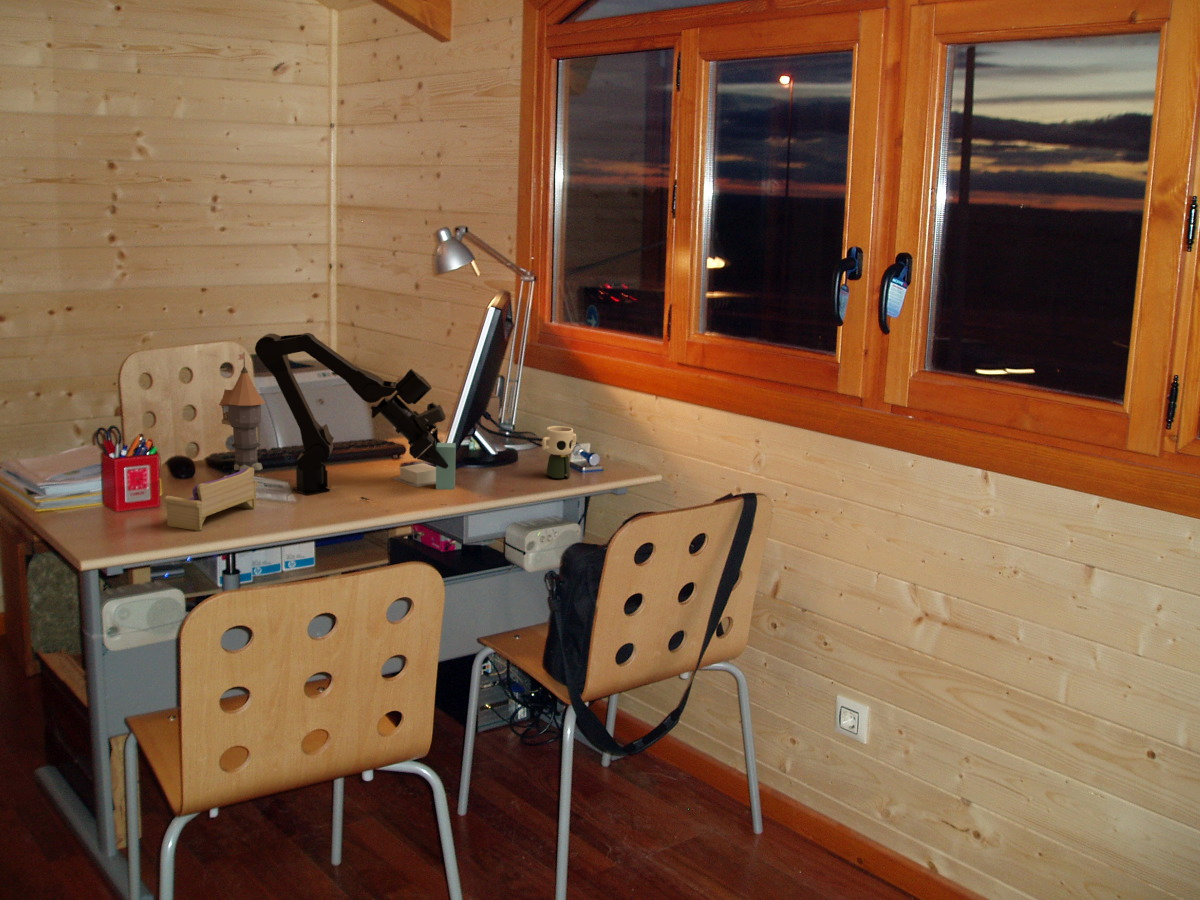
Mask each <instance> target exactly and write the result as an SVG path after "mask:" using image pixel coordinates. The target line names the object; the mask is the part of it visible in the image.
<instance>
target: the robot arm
mask: <svg viewBox="0 0 1200 900" xmlns="http://www.w3.org/2000/svg"><path fill="white" fill-rule="evenodd" d="M254 352H255V355H256V356H257V357H258V360H260V362H262V365H263V366H264V367H265V368H266V369H267V370H268V372H270V374H272V376H273V377H274V379H275V381H276V383H277V385H278V387H279V389H280V391H281V393H282V395H283V397H284V399H285V402H286V404H287V406H288V407H289V410H290V411H291V413H292V415H293V418H294V419H295V422H296V423H297V426H298V428H299V431H300V436H301V443H302V445H303V449H304V450H303V451H302V452H301V453H300V454H299V456H298V458H297V460H296V461H295V464H296V466H295V469H296V470H295V471H296V472H295V475H296V476H295V477H296V480H295V481H296V483H295V484H296V485H295V486H293V487H292V490H293V491H296V492H298V493H301V494H304V495H305V496H306V495H307V496H309V495H314V494H319V493H326V492H330V488H328V483H329V482H328V479H329V478H328V470H327V465H326V464H323V462H325V461H326V460H327V459H329V457H330V455H331V453H332V451H333V449H334V443H333V441H334V439H335V437H333V436H332V434H331V433H330V429H329V426H328V424H327V423H326V424H324V425H321V424H320V423H319V422H318V421H317V420H316V418H315V416H314V414H313V412H312V410H311V408H310V405H309V404H308V401H307V400H306V397H305V395H304V394H303V390H302V389H301V387H300V385H299V383H298V380H297V379H296V377H295V375H294V373H293V371H292V369H291V365H290V360H289V355H291V354H296V353H301V352H303V353H306V354H308V355H309V356H310V357H312V358H313V359H315V360H316V362H318V363H320V364H321V365H323V366H324V367H326V368H327V369H328V370H329V371H332V372H333V373H334V374H336V375H337V376H338V377H340V378H341V379H342V380H344V381H345V382H346V383H347V385H348V386H349V387H350V388H351V389H352V390H353V391H354V392H355V393H356V394H357V395H358V396H359V397H360V398H361V399H362V400H363V401H364V402H366V403H370V404H372V405H371V406H370V409H371V418H372V419H374V418H376V417H377V416H378V415H379V414H381V416H382V417H383V418H385V420H387V422H388V423H389V424H391V426H393V427H394V428H395V432H396V433H397V434H400V435H401V436H403V437H404V438H405V440H407V444H408V445H409V450H408V451H409V455H410V456H411V457H412V458H414V459H417V460H418V461H419V460H421V461H423V462H426V463H429V464H431V465H434V466H435V467H436V466H439V467H442V468H444V469H446V468H447V467H448V464H447V462H446V461H445V460H444V458H443V457H442V456H441V454H440V453H439V452H438V450H437V449H436V446H437V443H442V442H441V440H440V438H439V427H437V426H438V425H437V423H441V422H444V421H445V420H446V417H447V416H446V413H445V412H444V410H443V407H442V405H441V404H436V403H435V402H429V403H427V404H426V405H427V406H426V407H427V408H426V409H427V410H424V411H423V412H421V413H419V412H418V411H417V410H413V411H412V409H410V408H409V406H408V405H412V404H413V405H417V403H418V402H419V401H421V400H422V398H423V397H425V396H426V395H427V394H428V393H429V392H430V391H431V390H432V389H433V387H432V385H431V384H430V383H429V381H427V379H426V378H425V377H424V376H423V375H420V374H419V373H418V372H417V371H415V370H414V369H412V368H410V369H409V370H408V371H406V373H405V374H404V376H403V377H402V378H401V379H400V380H398V381H397V382H396V381H390V380H384V379H383V378H382V377H380V376H379V375H377V374H375V373H373V372H370V371H368V370H366V369H363V368H361V367H359V366H356V365H354V364H353V363H352V362H350V361H349V360H348V359H346V358H345V357H344V356H342V355H340V354H339V353H338V352H337V351H335V350H334V349H332V348H330V347H329V346H328V345H326V344H325V343H324V342H323V341H321V340H319V338H317V337H316V336H315V335H314V334H313V333H311V332H304V333H300V334H286V335H279V334H276V333H271V332H270V333H266V334H265V335H263V336H262V337H260V339H258V341H256V344H255V347H254ZM398 396H399V397H398ZM388 397H389V398H388ZM382 398H383V399H382ZM377 402H378V403H377ZM373 403H377V404H373Z"/></svg>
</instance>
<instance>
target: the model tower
mask: <svg viewBox="0 0 1200 900" xmlns="http://www.w3.org/2000/svg"><path fill="white" fill-rule="evenodd" d="M238 356H239V357H238V360H239V361H240V360H243V367H242V369H241V370H240V374H239V376H238V378H237V381H236V382H235V384H234V385H233V388H232V389H225V388H224V391H223V395H222V398H221V400H220V402H219V404H218V406H220V407H221V410H222V419H221V424H222V425H227V426H230V427H231V428H232V431H233V432H232V433H233V434H232V435H233V443H231V447H232V448H233V449H234V464H233V466H234V470H233V471H238V472H239V471H241V470H243V469H246V468H249V467H252V468H254V471H261V470H263V465H262V463H261V462H259V460H258V448H259V447H260V446H261V443H260V442H258V436H257V428H259V426H260V423H261V421H262V406H261V405H263V404H265V403H266V402H265V400H264V399H263V398H262V397H261V395H260V394H259V392H258V390H257V389H256V387H255V385H254V383H253V381H252V379H251V375H249V370H248V369H247V368H246V362H245V361H246V359H245V352H243V353H241V354H238ZM225 407H227V408H228V409H227V411H226V412H225V410H224V409H225Z"/></svg>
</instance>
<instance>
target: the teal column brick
mask: <svg viewBox="0 0 1200 900" xmlns="http://www.w3.org/2000/svg"><path fill="white" fill-rule="evenodd" d="M436 449H437V450H438V452H439V453H440V454H441V456H442V457H443V458H444V460H445V461H446V462H447V464H448V467H447V468H446V469H444V468H442V467H439V466H436V465H435V467H436V484H435V490H454V491H455V489H456V449H457V447H456V442H441V443H437V446H436Z"/></svg>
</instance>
